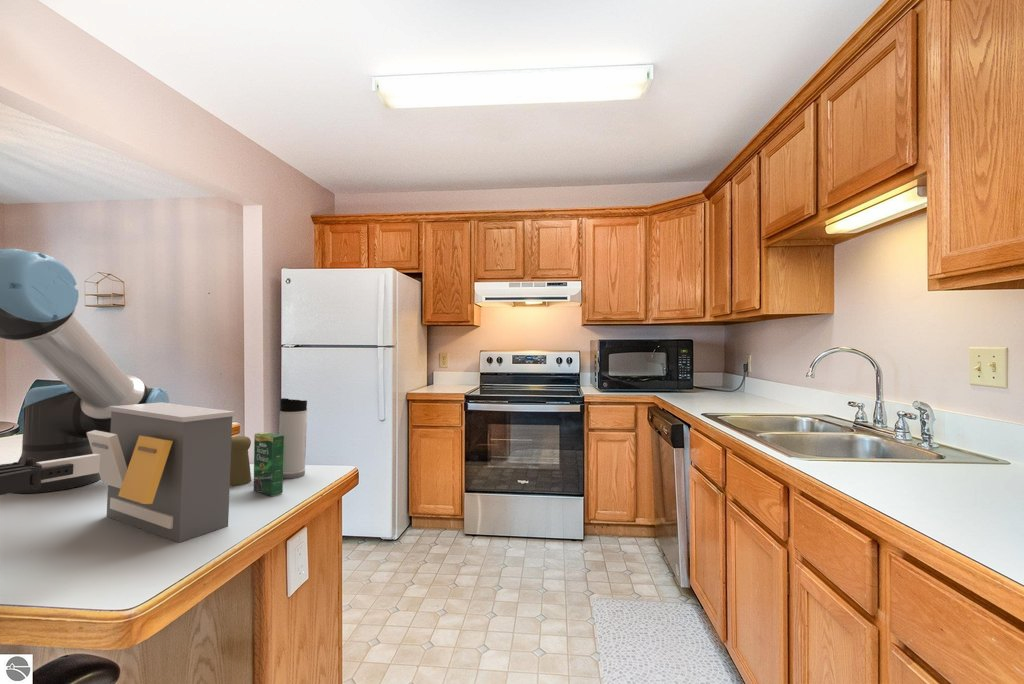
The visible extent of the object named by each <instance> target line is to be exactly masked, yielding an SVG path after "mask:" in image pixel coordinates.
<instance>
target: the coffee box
mask: <svg viewBox="0 0 1024 684" xmlns="http://www.w3.org/2000/svg"><path fill="white" fill-rule="evenodd" d="M253 436H254V441H253V442H254V443H253V444H254V445H253V449H254V450H253V451H254V452H253V491H256V492H259V493H262V494H265V495H266V496H271V497H275V496H279V495H281V494H283V491H284V489H283V486H284V485H283V484H284V482H283V481H284V479H283V454H284V435H279V433H278V434H276V433H271V432H267V431H265V432H258V433H254V435H253Z"/></svg>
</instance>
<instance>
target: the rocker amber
mask: <svg viewBox="0 0 1024 684" xmlns="http://www.w3.org/2000/svg"><path fill="white" fill-rule="evenodd" d="M172 442H173V441H170V440H165V439H160V438H154V437H149V436H140V435H139V438H138V440H137V443H136V446H135V449H134V452H133V455H132V458H131V460H130V463H129V466H128V469H127V472H126V475H125V478H124V480H123V483H122V486H121V489H120V492H119V495H118V496H120V497H123V498H126V499H130V500H133V501H136V502H139V503H142V504H152V503H153V500H154V497H155V494H156V491H157V488H158V485H159V482H160V479H161V476H162V473H163V470H164V467H165V464H166V461H167V457H168V454H169V451H170V448H171V445H172Z"/></svg>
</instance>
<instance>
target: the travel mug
mask: <svg viewBox="0 0 1024 684" xmlns="http://www.w3.org/2000/svg"><path fill="white" fill-rule="evenodd" d="M307 406H308V400H306V399H305V400H300V399H289V398H284V397H281V398H280V405H279V408H280V409H279V424H278V425H279V426H278V434H279V435H284V454H283V480H284V479H286V480H287V479H288V480H290V479H297V478H301V477H303V476H305V473H306V471H305V470H306V446H307V419H308V413H307V412H308V408H307Z"/></svg>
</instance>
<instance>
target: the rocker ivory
mask: <svg viewBox="0 0 1024 684" xmlns="http://www.w3.org/2000/svg"><path fill="white" fill-rule="evenodd" d="M87 437H88V440H89V443H90V446H91V449H92V452H93V454H99V455H100V470H99V475H100V478H101V479H100V481H101V484H104V485H107V486H108V485H110V486H114V487H117V488H120V489H121V486H122V483H123V480H124V478H125V475H126V472H127V466H126V462H125V459H124V456H123V452H122V449H121V446H120V442H119V439H118V436H117V434H113V433H108V432H102V431H97V430H93V431H90V432H87Z"/></svg>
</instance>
